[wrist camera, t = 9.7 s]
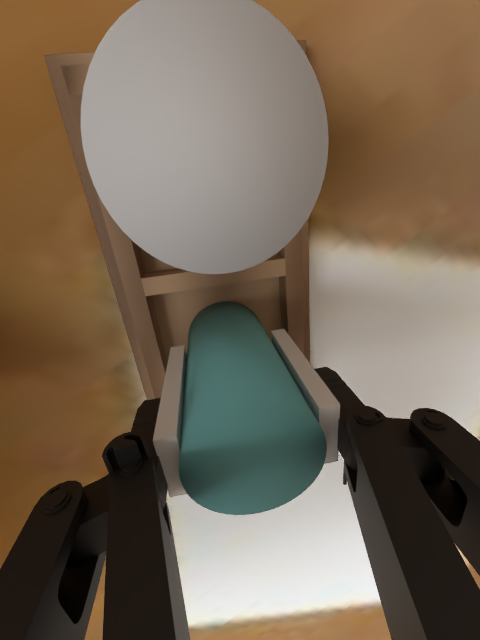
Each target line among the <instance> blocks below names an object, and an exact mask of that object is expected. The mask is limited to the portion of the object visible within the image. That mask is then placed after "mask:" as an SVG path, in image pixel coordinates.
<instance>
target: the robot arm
mask: <svg viewBox="0 0 480 640" xmlns="http://www.w3.org/2000/svg"><path fill="white" fill-rule="evenodd" d="M271 337H272V343H273V345H274V347H275V348H276V350H277V352H278V354H279V355H280V357H281V359H282V360H283V362H284V364H285V366H286V367H287V369H288V371H289V373H290V374H291V376H292V378H293V380H294V381H295V383H296V385H297V386H298V388H299V390H300V392H301V393H302V395H303V397H304V399H305V400H306V402H307V404H308V405H309V407H310V409H311V411H312V412H313V414H314V416H315V418H316V419H317V421H318V423H319V424H320V426H321V428H322V430H323V432H324V434H325V438H326V443H327V452H326V458H325V462H324V464H325V463H330V462H335V461H338V450H339V452H340V453H341V455H342V457H343V458H344V472H343V484H344V485H346V484H347V482H348V486H349V489H350V493H351V496H352V500H353V503H354V507H355V511H356V514H357V518H358V521H359V525H360V528H361V532H362V536H363V539H364V543H365V546H366V550H367V553H368V557H369V560H370V564H371V568H372V571H373V575H374V578H375V582H376V585H377V589H378V592H379V596H380V600H381V603H382V607H383V610H384V614H385V617H386V621H387V624H388V628H389V632H390V635H391V639H392V640H480V589H479V588H478V586H477V584H476V582H475V580H474V578H473V577H472V575H471V573H470V571H469V569H468V567H467V566H466V564H465V562H464V560H463V558H462V556H461V555H460V553H459V551H458V549H457V547H458V548H459V550H460V551H461V552H462V553H463V555H464V556H465V557H466V559H467V560H468V561H469V563H470V564H471V565H472V566H473V568H474V569H475V570H476V572H477V573H478V574H479V575H480V441H479V440H478V439H477V438H476V437H474V436H473V435H472V434H471V433H469V432H468V431H467V430H466V429H464V428H463V427H462V426H461V425H460V424H458V423H457V422H456V421H455V420H453V419H452V418H451V417H449V416H448V415H446V414H445V413H442V412H440V411H437V410H434V409H429V408H419V409H416V410H414V411H413V412H412V414H411V417H410V419H397V418H387V417H385V416H384V415H383V414H382V413H381V412H380V411H378V410H377V409H375V408H372V407H369V406H365V405H364V404H363V403H362V402H361V401H360V399H359V398H358V397H357V396H356V395H355V394H354V393H353V391H352V390H351V389H350V388H349V387H348V386H347V385H346V383H345V382H344V381H343V380H342V379H341V378H340V376H339V375H338V374H337V373H336V372H335V371H333V370H331V369H329V368H328V367H323V368H317V369H314V368H313V367H312V366H311V364H310V363H309V362H308V360H307V359H306V358H305V356H304V355H303V354H302V352H301V351H300V349H299V348H298V347H297V345H296V344H295V343H294V341H293V340H292V339H291V337H290V336H289V335H288V333H287V332H286V331H285V329H279V330H273V331H271ZM186 359H187V354H186V350H185V345H182V346H176V347H171V348H170V353H169V359H168V364H167V369H166V374H165V379H164V384H163V390H162V395H161V398H156V399H151V400H145V401H144V402H143V403H142V404H141V406H140V407H139V408H138V410H137V413H136V416H135V420H134V423H133V428H132V430H131V432H128V433H124V434H122V435H120V436H118V437H116V438H115V439H113V440H112V441H111V442H110V443H109V444H108V445H107V446H106V448H105V449H104V451H103V454H102V457H103V460H104V462H105V465H106V467H107V469H108V472H109V474H108V475H107V476H105V477H103V478H101V479H100V480H97V481H95V482H93V483H91V484H89V485H87V486H85V487H82V485H81V483H79V482H77V481H66V482H64V483H61V484H58V485H57V486H55V487H53V488H52V489H50V490H49V491H48V492H47V493H46V494H44V495H43V496H42V497H41V498H40V500H39V501H38V502H37V504H36V505H35V507H34V508H33V510H32V512H31V514H30V516H29V518H28V520H27V521H26V523H25V525H24V527H23V529H22V531H21V532H20V534H19V536H18V538H17V540H16V542H15V543H14V545H13V547H12V549H11V551H10V553H9V554H8V556H7V558H6V560H5V562H4V564H3V565H2V567H1V569H0V640H84V639H85V635H86V631H87V627H88V623H89V619H90V615H91V611H92V608H93V604H94V600H95V596H96V592H97V588H98V584H99V581H100V577H101V573H102V569H103V565H104V561H105V557H106V574H105V597H104V621H103V640H190V635H189V629H188V623H187V617H186V611H185V605H184V599H183V593H182V587H181V581H180V575H179V569H178V563H177V557H176V551H175V545H174V539H173V533H172V527H171V521H170V514H169V509H168V506H167V503H166V496H167V489H168V492H169V495H170V497H173V496H177V495H182V494H187V493H186V491H185V490H184V488H183V486H182V484H181V481H180V477H179V455H180V443H181V429H182V415H183V401H184V387H185V373H186ZM454 543H455V544H456V545H455V544H454ZM456 546H457V547H456Z"/></svg>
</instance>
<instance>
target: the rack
mask: <svg viewBox="0 0 480 640" xmlns="http://www.w3.org/2000/svg"><path fill="white" fill-rule="evenodd" d="M296 41H297V42H298V44H299V45H300V46H301V48H302V49H303V51H304V52H305V54H306V40H296ZM94 54H95V52H88V53H71V54H54V55H44V57H45V60H46V64H47V67H48V70H49V74H50V77H51V80H52V84H53V87H54V90H55V94H56V97H57V100H58V104H59V107H60V110H61V114H62V117H63V120H64V124H65V127H66V130H67V134H68V137H69V140H70V144H71V147H72V150H73V154H74V157H75V160H76V164H77V167H78V170H79V174H80V177H81V180H82V184H83V187H84V191H85V194H86V197H87V201H88V204H89V207H90V211H91V214H92V217H93V221H94V224H95V227H96V231H97V234H98V237H99V241H100V244H101V247H102V251H103V254H104V257H105V261H106V264H107V267H108V271H109V274H110V277H111V281H112V284H113V287H114V291H115V294H116V297H117V301H118V304H119V307H120V311H121V314H122V317H123V321H124V324H125V328H126V331H127V334H128V338H129V341H130V344H131V348H132V351H133V354H134V358H135V361H136V364H137V368H138V371H139V374H140V378H141V381H142V384H143V388H144V391H145V394H146V398H147V400H151V399H156V398H161V395H162V390H163V384H164V379H165V374H166V369H167V364H168V359H169V353H170V348H171V347H176V346H182V345H185V350H186V354H187V343H188V332H189V328H190V325H191V323H192V321H193V319H194V318H195V316H196V315H197V314H198V313H199V312H200V311H201V310H203V309H204V308H205V307H207V306H209V305H211V304H214V303H218V302H225V301H229V302H236V303H240V304H242V305H244V306H246V307H248V308H249V309H250V310H252V311H253V312H254V313H255V315H256V316H257V317H258V319H259V321H260V322H261V324H262V326H263V328H264V329H265V331H266V333H267V335H268V336H269V338H270V340H271V341H272V337H271V331H273V330H279V329H285V331H286V332H287V333H288V335H289V336H290V337H291V339H292V340H293V341H294V343H295V344H296V345H297V347H298V348H299V349H300V351H301V352H302V354H303V355H304V356H305V358H306V359H307V360H308V362H309V363H310V331H309V247H308V219H307V221H306V222H305V223H304V225H303V226H302V228H301V229H300V230H299V232H298V233H297V234H296V235H295V236H294V238H293V239H292V240H291V241H290V242H289V243H288V244H287V245H286V246H285V247H283V248H282V249H281V250H280V251H279V252H278V253H276V254H275V255H273V256H272V257H270V258H269V259H267V260H265V261H263V262H261V263H259V264H257V265H255V266H253V267H250V268H247V269H245V270H242V271H237V272H232V273H225V274H201V273H195V272H190V271H186V270H182V269H179V268H176V267H173V266H171V265H169V264H167V263H164V262H162V261H160V260H158V259H157V258H155V257H154V256H152V255H150V254H149V253H147V252H146V251H144V250H143V249H142V248H141V247H139V246H138V245H137V244H136V243H134V242H133V241H132V240H131V239H130V238H129V237H128V236H127V235H126V234H125V233H124V232H123V231H122V230H121V228H120V227H119V226H118V225H117V223H116V222H115V221H114V220H113V218H112V217H111V216H110V214H109V212H108V211H107V209H106V208H105V206H104V204H103V203H102V201H101V199H100V197H99V195H98V193H97V191H96V189H95V187H94V184H93V182H92V179H91V176H90V173H89V170H88V167H87V163H86V159H85V155H84V150H83V145H82V135H81V102H82V95H83V88H84V83H85V80H86V76H87V72H88V69H89V65H90V63H91V61H92V59H93V56H94Z"/></svg>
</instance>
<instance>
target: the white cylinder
mask: <svg viewBox="0 0 480 640" xmlns="http://www.w3.org/2000/svg"><path fill="white" fill-rule="evenodd" d="M81 135H82V145H83V150H84V155H85V159H86V163H87V167H88V170H89V173H90V176H91V179H92V182H93V184H94V187H95V189H96V191H97V193H98V195H99V197H100V199H101V201H102V203H103V204H104V206H105V208H106V209H107V211H108V212H109V214H110V216H111V217H112V218H113V220H114V221H115V222H116V223H117V225H118V226H119V227H120V228H121V230H122V231H123V232H124V233H125V234H126V235H127V236H128V237H129V238H130V239H131V240H132V241H133V242H134V243H136V244H137V245H138V246H139V247H141V248H142V249H143V250H144V251H146V252H147V253H149V254H150V255H152V256H154V257H155V258H157V259H158V260H160V261H162V262H164V263H167V264H169V265H171V266H173V267H176V268H179V269H182V270H186V271H190V272H195V273H201V274H225V273H232V272H237V271H242V270H245V269H247V268H250V267H253V266H255V265H257V264H259V263H261V262H263V261H265V260H267V259H269V258H270V257H272V256H273V255H275V254H276V253H278V252H279V251H280V250H281V249H282V248H283V247H285V246H286V245H287V244H288V243H289V242H290V241H291V240H292V239H293V238H294V236H295V235H296V234H297V233H298V232H299V230H300V229H301V228H302V226H303V225H304V223H305V222H306V221H307V219H308V217H309V215H310V213H311V212H312V210H313V208H314V206H315V203H316V201H317V199H318V196H319V194H320V191H321V187H322V184H323V180H324V177H325V171H326V166H327V160H328V145H329V138H328V121H327V114H326V108H325V103H324V99H323V95H322V92H321V88H320V85H319V83H318V80H317V77H316V75H315V72H314V70H313V68H312V66H311V64H310V62H309V60H308V58H307V56H306V54H305V52H304V51H303V49H302V48H301V46H300V45H299V44H298V42H297V41H296V39H295V38H294V36H293V35H292V34H291V33H290V32H289V31H288V30H287V28H286V27H285V26H284V25H283V24H282V23H281V22H280V21H279V20H278V19H277V18H276V17H274V16H273V15H272V14H271V13H270V12H269V11H267V10H266V9H265V8H264V7H262V6H260V5H259V4H257V3H255V2H254V1H252V0H141V1H139V2H137V3H136V4H134V5H133V6H132V7H131V8H130V9H128V10H127V11H126V12H125V13H123V14H122V15H121V16H120V17H119V18H118V20H117V21H116V22H115V23H114V24H113V25H112V26H111V27H110V29H109V30H108V31H107V33H106V34H105V36H104V38H103V39H102V41H101V42H100V44H99V46H98V47H97V49H96V52H95V54H94V56H93V59H92V61H91V63H90V65H89V69H88V72H87V76H86V80H85V83H84V88H83V95H82V102H81Z"/></svg>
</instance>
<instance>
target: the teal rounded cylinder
mask: <svg viewBox="0 0 480 640" xmlns="http://www.w3.org/2000/svg"><path fill="white" fill-rule="evenodd" d="M326 452H327V443H326V438H325V434H324V432H323V430H322V428H321V426H320V424H319V423H318V421H317V419H316V418H315V416H314V414H313V412H312V411H311V409H310V407H309V405H308V404H307V402H306V400H305V399H304V397H303V395H302V393H301V392H300V390H299V388H298V386H297V385H296V383H295V381H294V380H293V378H292V376H291V374H290V373H289V371H288V369H287V367H286V366H285V364H284V362H283V360H282V359H281V357H280V355H279V354H278V352H277V350H276V348H275V347H274V345H273V343H272V341H271V340H270V338H269V336H268V335H267V333H266V331H265V329H264V328H263V326H262V324H261V322H260V321H259V319H258V317H257V316H256V315H255V313H254V312H253V311H252V310H250V309H249V308H248V307H246V306H244V305H242V304H240V303H236V302H229V301H225V302H218V303H214V304H211V305H209V306H207V307H205V308H204V309H203V310H201V311H200V312H199V313H198V314H197V315H196V316H195V318H194V319H193V321H192V323H191V325H190V328H189V332H188V343H187V359H186V373H185V387H184V401H183V415H182V429H181V443H180V455H179V477H180V481H181V484H182V486H183V488H184V490H185V491H186V493H187V494H188V495H189V496H190V497H191V498H192V499H193V500H194V501H195V502H197V503H198V504H200V505H201V506H203V507H205V508H207V509H209V510H212V511H215V512H219V513H224V514H232V515H246V514H254V513H260V512H264V511H268V510H271V509H274V508H276V507H279V506H281V505H283V504H285V503H287V502H289V501H291V500H292V499H294V498H296V497H297V496H298V495H300V494H301V493H302V492H303V491H305V490H306V489H307V488H308V487H309V486H310V485H311V484H312V483H313V481H314V480H315V479H316V478H317V476H318V475H319V473H320V471H321V469H322V467H323V465H324V462H325V458H326Z"/></svg>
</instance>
